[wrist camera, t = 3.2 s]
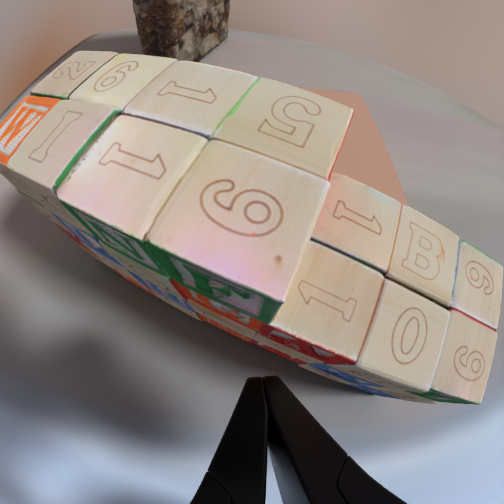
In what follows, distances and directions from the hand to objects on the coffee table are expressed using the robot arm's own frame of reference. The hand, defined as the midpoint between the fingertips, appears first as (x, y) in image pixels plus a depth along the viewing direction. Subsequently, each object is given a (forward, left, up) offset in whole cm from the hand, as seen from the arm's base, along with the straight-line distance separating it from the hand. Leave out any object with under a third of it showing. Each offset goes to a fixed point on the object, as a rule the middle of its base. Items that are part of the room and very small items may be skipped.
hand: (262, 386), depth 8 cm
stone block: (+36, +6, -9) cm, 37 cm away
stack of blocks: (+6, 0, -9) cm, 10 cm away
